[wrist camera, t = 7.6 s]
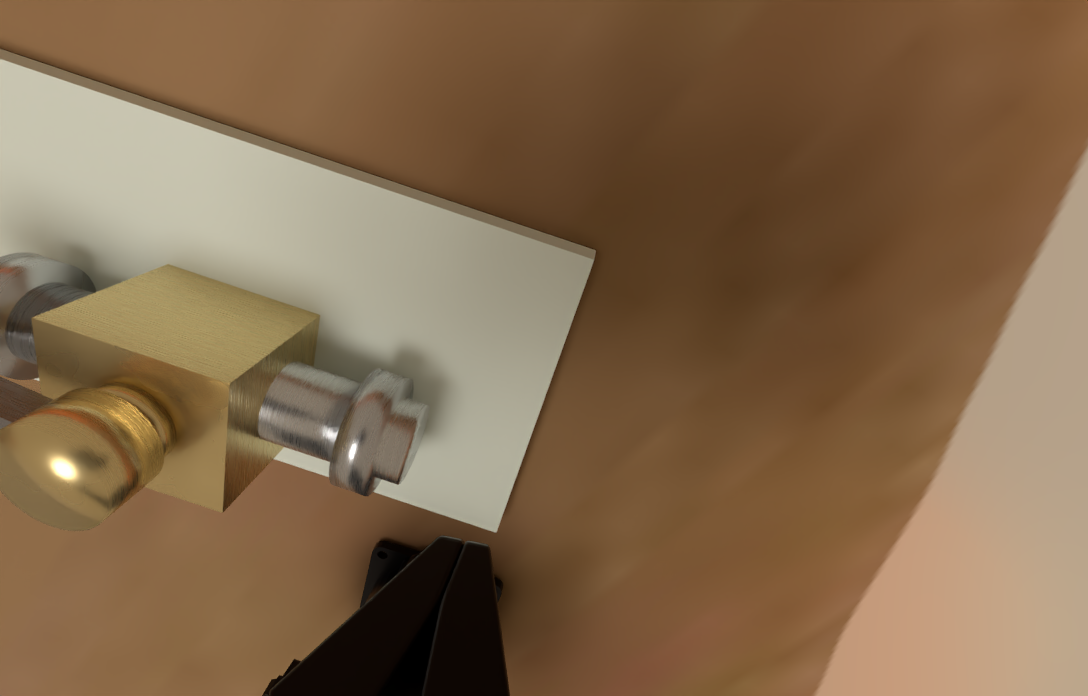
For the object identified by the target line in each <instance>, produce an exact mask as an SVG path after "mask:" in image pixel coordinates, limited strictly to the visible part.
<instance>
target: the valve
mask: <svg viewBox="0 0 1088 696" xmlns="http://www.w3.org/2000/svg"><path fill="white" fill-rule="evenodd" d="M319 321H320V315H319V314H316V313H313V312H310V311H307V310H304V309H301V308H298V307H295V306H292V305H289V304H286V303H283V302H280V301H277V300H274V299H271V298H268V297H265V296H262V295H259V294H256V293H253V292H250V291H247V290H244V289H241V288H238V287H235V286H232V285H229V284H226V283H223V282H220V281H217V280H214V279H211V278H208V277H205V276H202V275H199V274H196V273H193V272H190V271H187V270H184V269H181V268H178V267H175V266H173V265H170V264H167V265H164V266H162V267H159V268H156V269H154V270H151V271H149V272H146V273H144V274H141V275H139V276H136V277H134V278H131V279H128V280H126V281H123V282H121V283H118V284H116V285H113V286H111V287H108V288H106V289H103V290H101V291H98V292H96V288H95V286H94V284H93V282H92V280H91V279H90V277H89V276H88V275H87V274H86V273H85V272H83V271H82V270H81V269H79V268H77V267H75V266H72V265H69V264H66V263H63V262H60V261H57V260H54V259H51V258H48V257H45V256H42V255H39V254H35V253H27V252H21V253H13V254H8V255H5V256H2V257H0V375H2V376H5V377H8V378H12V379H17V380H31V379H36V378H39V382H40V389H41V394H42V395H44V396H46V397H49V398H51V399H53V400H54V399H56V398H58V397H60V396H61V395H63V394H65V393H67V392H69V391H71V390H74V389H78V388H94V389H99V390H103V391H106V392H109V393H112V394H114V395H116V396H118V397H120V398H122V399H124V400H125V401H127V402H129V403H130V404H131V405H133V406H134V407H135V408H137V409H138V410H139V411H140V412H141V413H142V414H143V415H144V416H145V417H146V418H147V419H148V420H149V421H150V423H151V424H152V425H153V427H154V428H155V430H156V431H157V433H158V435H159V437H160V439H161V442H162V445H163V449H164V464H163V467H162V470H161V472H160V473H159V474H158V476H156V477H155V478H154V479H153V480H152V481H151V482H149V483H148V484H147V485H146V486H145V487H146V488H149V489H152V490H155V491H158V492H161V493H164V494H167V495H170V496H173V497H176V498H179V499H182V500H185V501H188V502H191V503H194V504H197V505H200V506H203V507H206V508H209V509H212V510H215V511H218V512H221V513H223V512H224V511H225V510H226V509H227V508H228V507H229V506H230V504H231V503H232V502H233V501H234V500H235V499H236V498H237V497H238V496H239V495H240V494H241V493H242V492H243V491H244V490H245V488H246V487H247V486H248V485H249V484H250V483H251V482H252V481H253V480H254V479H255V478H256V477H257V476H258V475H259V474H260V473H261V471H262V470H263V469H264V468H265V467H266V466H267V465H268V464H269V463H270V462H271V461H272V460H273V459H274V458H275V457H276V456H277V454H278V453H279V452H280V451H281V450H282V449H283V448H284V447H286V448H289V449H292V450H295V451H298V452H301V453H304V454H307V455H310V456H313V457H316V458H319V459H322V460H325V461H328V462H330V466H329V480H330V483H331V484H332V485H334V486H337V487H340V488H343V489H346V490H349V491H352V492H355V493H358V494H361V495H364V496H369V495H370V494H371V493H372V492H373V491H374V490H375V489H376V487H377V486H378V485H379V483H380V481H381V480H385V481H388V482H391V483H394V484H397V485H399V484H401V483H402V481H403V480H404V478H405V477H406V475H407V473H408V471H409V469H410V467H411V465H412V463H413V461H414V458H415V456H416V453H417V451H418V448H419V446H420V443H421V440H422V437H423V434H424V431H425V427H426V424H427V420H428V415H429V405H427V404H424V403H421V402H418V401H415V400H412V398H413V391H414V383H413V380H412V379H410V378H407V377H404V376H401V375H398V374H395V373H392V372H389V371H386V370H383V369H380V368H378V369H375V370H374V371H372V372H371V373H370V374H369V375H368V376H367V377H366V379H365V380H364V381H363V383H361V382H358V381H355V380H352V379H349V378H346V377H343V376H340V375H337V374H334V373H331V372H328V371H325V370H322V369H319V368H316V367H314V359H315V352H316V344H317V337H318V329H319Z"/></svg>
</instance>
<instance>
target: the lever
mask: <svg viewBox="0 0 1088 696" xmlns="http://www.w3.org/2000/svg"><path fill="white" fill-rule="evenodd" d="M163 464H164V449H163V445H162V442H161V439H160V437H159V435H158V433H157V431H156V430H155V428H154V427H153V425H152V424H151V423H150V421H149V420H148V419H147V418H146V417H145V416H144V415H143V414H142V413H141V412H140V411H139V410H138V409H137V408H135V407H134V406H133V405H131V404H130V403H129V402H127V401H125V400H124V399H122V398H120V397H118V396H116V395H114V394H112V393H109V392H106V391H103V390H99V389H94V388H78V389H74V390H71V391H69V392H67V393H65V394H63V395H61V396H60V397H58V398H56V399H54V400H53V399H51V398H49V397H46V396H44V395H42V394H39V393H37V392H35V391H32V390H30V389H28V388H25V387H23V386H21V385H18V384H16V383H14V382H11V381H9V380H7V379H4V378H2V377H0V491H1V492H2V493H3V494H4V495H5V496H6V497H7V498H8V499H9V500H10V501H11V502H12V503H13V504H14V505H15V506H16V507H18V508H19V509H20V510H22V511H23V512H24V513H26V514H27V515H29V516H31V517H32V518H34V519H36V520H38V521H40V522H42V523H44V524H46V525H49V526H52V527H55V528H59V529H63V530H68V531H84V530H89V529H92V528H94V527H96V526H98V525H99V524H100V523H102V522H103V521H104V520H105V519H106V518H108V517H109V516H110V515H111V514H112V513H114V512H115V511H116V510H117V509H118V508H120V507H121V506H122V505H123V504H124V503H125V502H127V501H128V500H129V499H130V498H131V497H133V496H134V495H135V494H136V493H137V492H139V491H140V490H141V489H142V488H143V487H145V486H146V485H147V484H148V483H149V482H151V481H152V480H153V479H154V478H155V477H156V476H158V474H159V473H160V472H161V470H162V467H163Z"/></svg>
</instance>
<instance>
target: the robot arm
mask: <svg viewBox="0 0 1088 696" xmlns="http://www.w3.org/2000/svg"><path fill="white" fill-rule="evenodd" d="M383 551H384V552H383ZM385 552H386V553H385ZM502 589H503V583H502V582H501V581H500V580H499V579H498V578H496V577H494V573H493V565H492V558H491V550H490V547H489V546H488V545H487V544H482V543H478V542H473V541H467V542H465V544H464V541H463V540H462V539H458V538H453V537H448V536H439V537H438V538H436V539H435V540H434V541H433V542H432V543H431V544H430V545H429V546H428V547H427V548H425V549H424V550H423V551H422V552H421V553H420V552H417V551H414V550H411V549H408V548H405V547H402V546H399V545H396V544H393V543H390V542H386V541H380V542H378V543H377V544H376V546H375V548H374V550H373V552H372V556H371V561H370V565H369V569H368V574H367V578H366V583H365V587H364V591H363V596H362V600H361V605H360V609H358V610H357V611H356V612H355V613H354V614H353V615H352V616H351V617H350V618H349V619H347V620H346V621H345V622H344V623H343V624H342V625H341V626H340V627H339V628H338V629H336V630H335V631H334V632H333V633H332V634H331V635H330V636H329V637H328V638H327V639H325V640H324V641H323V642H322V643H321V644H320V645H319V646H318V647H317V648H316V649H315V650H313V651H312V652H311V653H310V654H309V655H308V656H307V657H306V658H305V659H304V660H302V661H299V660H296V659H294V660H293V662H292V663H291V665H290V666H289V668H288V669H287V670H286V672H285V673H284V675H283V676H280V675H279V676H278V678H277V679H272V680H271V682H270V683H269V685H268V687H267V688H266V690H265V692H264V693H263V695H262V696H510V692H509V685H508V677H507V670H506V662H505V655H504V647H503V640H502V632H501V625H500V617H499V610H498V601H499V599H500V596H501V593H502Z"/></svg>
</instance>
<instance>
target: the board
mask: <svg viewBox="0 0 1088 696" xmlns="http://www.w3.org/2000/svg"><path fill="white" fill-rule="evenodd" d="M21 252H27V253H35V254H39V255H42V256H45V257H48V258H51V259H54V260H57V261H60V262H63V263H66V264H69V265H72V266H75V267H77V268H79V269H81V270H82V271H83V272H85V273H86V274H87V275H88V276H89V277H90V279H91V280H92V282H93V284H94V286H95V288H96V292H98V291H101V290H103V289H106V288H108V287H111V286H113V285H116V284H118V283H121V282H123V281H126V280H128V279H131V278H134V277H136V276H139V275H141V274H144V273H146V272H149V271H151V270H154V269H156V268H159V267H162V266H164V265H167V264H170V265H173V266H175V267H178V268H181V269H184V270H187V271H190V272H193V273H196V274H199V275H202V276H205V277H208V278H211V279H214V280H217V281H220V282H223V283H226V284H229V285H232V286H235V287H238V288H241V289H244V290H247V291H250V292H253V293H256V294H259V295H262V296H265V297H268V298H271V299H274V300H277V301H280V302H283V303H286V304H289V305H292V306H295V307H298V308H301V309H304V310H307V311H310V312H313V313H316V314H319V315H320V321H319V329H318V337H317V344H316V352H315V359H314V367H316V368H319V369H322V370H325V371H328V372H331V373H334V374H337V375H340V376H343V377H346V378H349V379H352V380H355V381H358V382H361V383H363V381H364V380H365V379H366V377H367V376H368V375H369V374H370V373H371V372H372V371H374V370H375V369H378V368H380V369H383V370H386V371H389V372H392V373H395V374H398V375H401V376H404V377H407V378H410V379H412V380H413V383H414V391H413V398H412V400H415V401H418V402H421V403H424V404H427V405H429V415H428V420H427V424H426V427H425V431H424V434H423V437H422V440H421V443H420V446H419V448H418V451H417V453H416V456H415V458H414V461H413V463H412V465H411V467H410V469H409V471H408V473H407V475H406V477H405V478H404V480H403V481H402V483H401V484H399V485H397V484H394V483H391V482H388V481H385V480H381V481H380V483H379V485H378V486H377V487H376V489H375V490H374V491H373V492H375V493H378V494H381V495H384V496H387V497H390V498H393V499H396V500H399V501H402V502H405V503H408V504H411V505H414V506H417V507H420V508H423V509H426V510H429V511H432V512H435V513H438V514H441V515H444V516H447V517H450V518H453V519H456V520H459V521H462V522H465V523H468V524H471V525H474V526H477V527H480V528H483V529H486V530H489V531H492V532H495V533H496V532H497V529H498V527H499V524H500V521H501V518H502V515H503V513H504V510H505V507H506V504H507V502H508V499H509V496H510V493H511V490H512V488H513V485H514V482H515V479H516V476H517V474H518V471H519V468H520V465H521V463H522V460H523V457H524V454H525V451H526V449H527V446H528V443H529V440H530V438H531V435H532V432H533V429H534V426H535V424H536V421H537V418H538V415H539V412H540V410H541V407H542V404H543V401H544V399H545V396H546V393H547V390H548V387H549V385H550V382H551V379H552V376H553V374H554V371H555V368H556V365H557V362H558V360H559V357H560V354H561V351H562V348H563V346H564V343H565V340H566V337H567V335H568V332H569V329H570V326H571V323H572V321H573V318H574V315H575V312H576V310H577V307H578V304H579V301H580V298H581V296H582V293H583V290H584V287H585V284H586V282H587V279H588V276H589V273H590V271H591V268H592V265H593V262H594V259H595V254H596V250H593V249H590V248H588V247H585V246H582V245H579V244H576V243H573V242H570V241H567V240H564V239H561V238H558V237H555V236H552V235H549V234H546V233H543V232H540V231H537V230H534V229H531V228H528V227H525V226H523V225H520V224H517V223H514V222H511V221H508V220H505V219H502V218H499V217H496V216H493V215H490V214H487V213H484V212H481V211H478V210H475V209H472V208H469V207H466V206H463V205H461V204H458V203H455V202H452V201H449V200H446V199H443V198H440V197H437V196H434V195H431V194H428V193H425V192H422V191H419V190H416V189H413V188H410V187H407V186H404V185H401V184H398V183H396V182H393V181H390V180H387V179H384V178H381V177H378V176H375V175H372V174H369V173H366V172H363V171H360V170H357V169H354V168H351V167H348V166H345V165H342V164H339V163H336V162H333V161H331V160H328V159H325V158H322V157H319V156H316V155H313V154H310V153H307V152H304V151H301V150H298V149H295V148H292V147H289V146H286V145H283V144H280V143H277V142H274V141H271V140H269V139H266V138H263V137H260V136H257V135H254V134H251V133H248V132H245V131H242V130H239V129H236V128H233V127H230V126H227V125H224V124H221V123H218V122H215V121H212V120H209V119H206V118H204V117H201V116H198V115H195V114H192V113H189V112H186V111H183V110H180V109H177V108H174V107H171V106H168V105H165V104H162V103H159V102H156V101H153V100H150V99H147V98H144V97H141V96H139V95H136V94H133V93H130V92H127V91H124V90H121V89H118V88H115V87H112V86H109V85H106V84H103V83H100V82H97V81H94V80H91V79H88V78H85V77H82V76H79V75H77V74H74V73H71V72H68V71H65V70H62V69H59V68H56V67H53V66H50V65H47V64H44V63H41V62H38V61H35V60H32V59H29V58H26V57H23V56H20V55H17V54H14V53H12V52H9V51H6V50H3V49H0V257H2V256H5V255H8V254H13V253H21ZM35 380H38V381H39V378H36V379H35ZM274 459H276V460H279V461H282V462H285V463H288V464H291V465H294V466H297V467H300V468H303V469H306V470H309V471H312V472H315V473H318V474H321V475H324V476H327V477H329V466H330V462H328V461H325V460H322V459H319V458H316V457H313V456H310V455H307V454H304V453H301V452H298V451H295V450H292V449H289V448H286V447H284V448H283V449H282V450H281V451H280V452H279V453H278V454H277V456H276V457H275V458H274Z"/></svg>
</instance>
